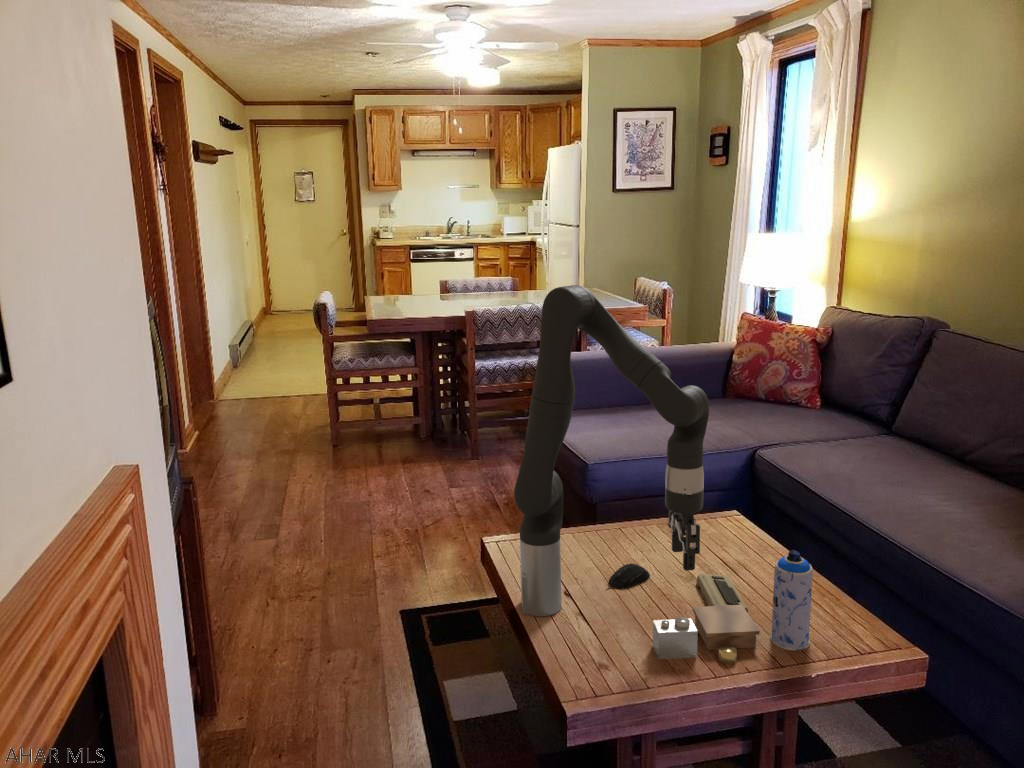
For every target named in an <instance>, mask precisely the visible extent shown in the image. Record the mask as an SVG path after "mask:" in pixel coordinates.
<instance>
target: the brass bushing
mask: <svg viewBox="0 0 1024 768" xmlns="http://www.w3.org/2000/svg"><path fill="white" fill-rule="evenodd" d="M717 658H718V660H719V661H720V662H722V663H724V664H729V665H730V664H734V663H736V662H737V661H738V650H737V648H734V647H732V646H728V645H724V646H721V647H719V649H718V657H717Z"/></svg>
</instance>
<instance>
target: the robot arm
mask: <svg viewBox="0 0 1024 768" xmlns="http://www.w3.org/2000/svg"><path fill="white" fill-rule="evenodd" d="M540 318H541V319H540V336H539V351H538V356H537V361H536V362H537V363H536V370H535V376H534V382H533V388H532V392H531V397H530V404H529V411H528V421H527V426H526V435H525V440H524V448H523V455H522V459H521V463H520V468H519V471H518V474H517V478H516V481H515V485H514V489H513V497H514V498H513V499H514V503H515V505H516V508H517V509H518V510H519V512H521V513H522V515H523V517H522V521H521V523H520V527H519V549H520V550H519V551H520V552H519V553H520V565H519V568H520V573H519V574H520V598H521V599H520V601H521V611H522V614H523V615H530V616H535V617H548V616H552V615H555V614H557V613H559V612H560V611H561V609H562V599H563V598H562V561H561V560H562V558H561V557H562V556H561V550H562V549H561V548H562V547H561V530H562V525H563V521H564V520H563V519H564V516H563V515H564V487H563V481H562V480H561V477H560V476H559V474H558V473H557V472H556V471H555V465H556V464H555V463H556V460H557V457H558V454H559V452H560V450H561V448H562V445H563V442H564V440H565V437H566V434H567V432H568V430H569V427H570V424H571V421H572V416H573V409H574V403H575V398H576V385H575V378H574V374H573V369H572V362H571V355H572V348H573V344H574V339H575V336H576V335H575V334H576V332H577V330H579V331H582V332H583V333H585V334H587V335H588V336H590V338H592V339H593V340H595V341H596V342H597V343H598V344H599V345H600V346H601V347H602V349H603V350H604V351H605V353H606V354H607V355H608V357H609V359H610V360H611V361H612V363H613V365H614V367H615V368H616V369H617V371H619V373H620V374H621V375H622V376H623V377H624V378H626V379H627V380H628V381H629V382H630V383H631V384H632V385H634V386H635V387H636V388H637V389H638V390H640V391H641V392H642V393H643V394H645V396H646V398H647V399H648V400H649V402H650V404H651V405H652V406H653V407H654V409H655V410H656V411H657V413H658V414H659V415H660V417H662V418H663V419H664V421H666V422H668V423H669V424H671V425H673V431H672V433H671V435H670V436H669V438H668V440H667V445H666V446H667V448H666V468H665V477H664V478H665V480H664V481H665V484H664V485H665V487H664V489H665V492H664V506H665V508H666V510H668V520H667V521H668V524H667V525H668V529H670V531H669V532H670V534H671V551H672V552H673V553H682V557H683V559H682V561H683V562H682V564H683V565H682V568H683V570H684V571H688V572H689V571H694V570H695V568H696V567H695V566H696V555H699V554H701V547H700V546H701V545H700V544H701V540H700V539H701V526H700V524H699V523H698V524H697V519H696V518H695V514H696V513H699V512H701V511H702V510H703V507H704V489H705V488H704V487H705V486H704V485H705V483H704V482H705V481H704V480H705V473H704V440H705V436H706V431H707V425H708V421H709V414H710V403H709V398H708V396H707V394H706V392H705V391H704V390H703V389H702V388H700V387H699V386H698V385H697V386H696V385H692V384H691V385H686V386H682V387H681V388H680V387H679V386H678V384H676V383H675V382H674V381H673V380H672V379H671V378H672V372H671V370H670V368H669V367H668V366H666V365H665V363H664V362H662V361H661V360H660V359H659V358H658V357H656V356H655V354H653V353H652V352H650V351H649V350H648V349H647V348H646V347H644V346H643V345H642V344H641V343H640V342H638V340H637V339H635V338H634V337H633V336H632V335H631V334H630V332H628V331H627V330H626V329H624V327H623V326H621V325H620V323H619V322H618V321H617V320H616V319H615V318H614V317H613V315H612V314H611V313H610V312H609V311H608V310H607V308H605V306H604V305H603V304H602V302H601V301H600V300H599V299H598V298H597V297H596V296H595V295H594V294H593V293H592V291H590V290H589V289H588V288H586V287H585V286H584V285H583V286H582V285H579V284H578V285H577V284H573V285H565V286H559V287H555V288H553V289H551V290H550V291H549V292H548V293H547V294H546V295H545V297H544V299H543V303H542V306H541V317H540Z"/></svg>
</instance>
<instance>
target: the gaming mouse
mask: <svg viewBox="0 0 1024 768" xmlns="http://www.w3.org/2000/svg"><path fill="white" fill-rule="evenodd" d="M650 577H651V575H650V572H649V571H648V570H647V569H646V568H645V567H643V566H641V565H639V564H636V563H627V564H624V565H622V566H620V567H619V568H618V569H617V570H615V572H614V573H613V574H612V575H611V576H610V577H609V580H608V584H609V586H608V587H607V588H606V589H605V590H604V592H605V591H608V590H612V589H613V588H614V589H618V590H624V589H630V588H632V587H634V586H636V585H639V584H642V583H644V582H646V581H648V580H649V578H650Z"/></svg>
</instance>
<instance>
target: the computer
mask: <svg viewBox="0 0 1024 768" xmlns="http://www.w3.org/2000/svg"><path fill="white" fill-rule="evenodd" d="M695 583H696V585H697V587H698V588H700V593H701V595H702V598H703V600H704V602H705V603H706V604H707V606H725V605H743V607H744V608H745V610H746V611H747V613H748V614H749V609H748V607H747V605H746V604H745V602H744V600H743V599H742V597H741V595H740V593H739V592H738V590H737V588H736V587H735V585H734V584H733V582H732V580H731V578H730V577H729V575H719V574H712V573H711V574H710V573H700V574H698V575H697V577H696V582H695Z"/></svg>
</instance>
